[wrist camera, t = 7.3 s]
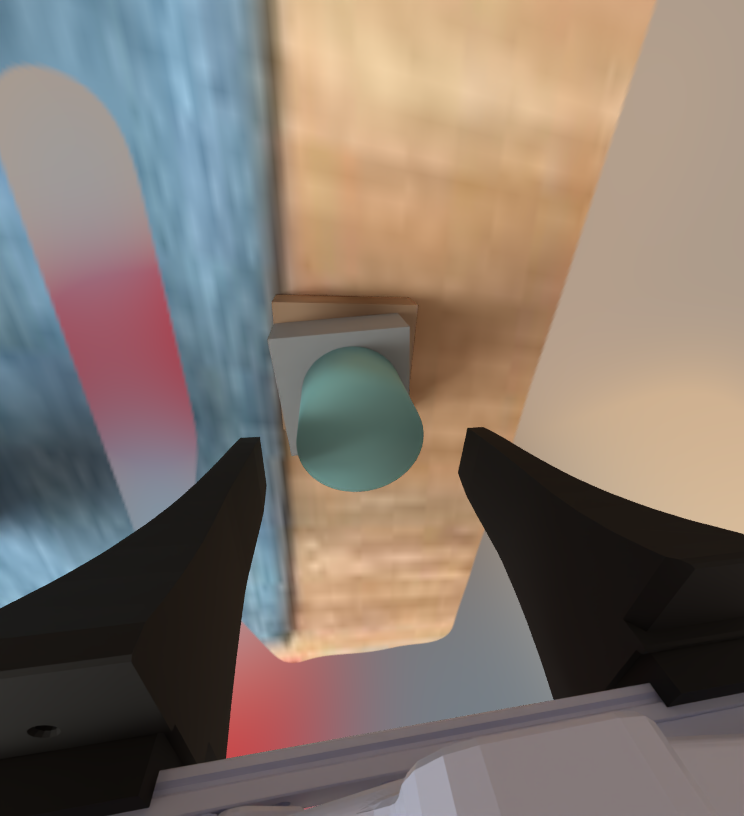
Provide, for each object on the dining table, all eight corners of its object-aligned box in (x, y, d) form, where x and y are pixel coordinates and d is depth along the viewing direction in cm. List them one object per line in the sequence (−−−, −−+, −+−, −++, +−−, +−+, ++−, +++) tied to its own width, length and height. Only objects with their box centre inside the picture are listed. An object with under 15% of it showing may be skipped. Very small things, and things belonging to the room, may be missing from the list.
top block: (294, 429, 19) (291, 456, 17) (274, 323, 16) (267, 339, 14) (399, 416, 20) (409, 441, 17) (397, 312, 17) (409, 326, 14)
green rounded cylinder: (284, 413, 16) (274, 467, 12) (331, 327, 14) (335, 361, 11) (369, 448, 17) (381, 505, 14) (419, 375, 16) (448, 418, 12)
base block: (286, 408, 21) (283, 430, 19) (277, 292, 18) (271, 302, 16) (396, 405, 22) (404, 425, 20) (406, 295, 19) (418, 305, 17)
